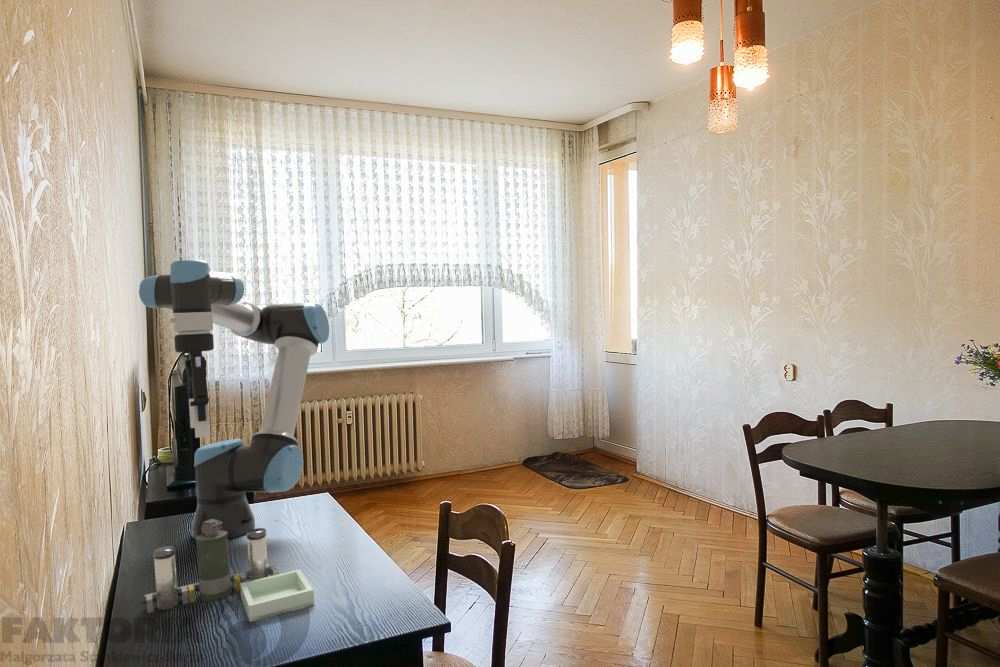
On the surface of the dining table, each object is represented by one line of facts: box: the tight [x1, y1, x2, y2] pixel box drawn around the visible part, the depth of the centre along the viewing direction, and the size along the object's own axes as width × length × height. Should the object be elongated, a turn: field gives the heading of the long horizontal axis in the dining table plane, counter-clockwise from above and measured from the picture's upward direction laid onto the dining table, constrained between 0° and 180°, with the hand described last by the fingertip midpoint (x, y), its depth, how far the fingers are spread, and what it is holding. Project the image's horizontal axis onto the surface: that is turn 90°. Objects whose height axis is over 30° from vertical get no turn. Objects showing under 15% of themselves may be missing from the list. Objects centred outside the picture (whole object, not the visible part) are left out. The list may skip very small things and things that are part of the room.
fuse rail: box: [143, 527, 279, 614], centre depth 132 cm, size 7×25×11 cm, turn 119°
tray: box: [240, 568, 315, 623], centre depth 126 cm, size 12×12×3 cm
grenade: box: [194, 519, 233, 602], centre depth 130 cm, size 6×6×15 cm
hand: (199, 431), depth 139 cm, fingers open, 13 cm apart
